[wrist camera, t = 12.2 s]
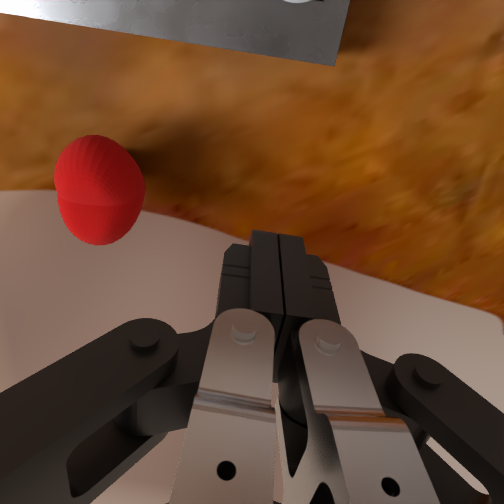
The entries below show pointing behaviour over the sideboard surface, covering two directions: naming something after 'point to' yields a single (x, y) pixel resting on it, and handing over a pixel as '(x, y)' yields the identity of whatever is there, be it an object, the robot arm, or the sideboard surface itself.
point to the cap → (297, 1)
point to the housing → (210, 22)
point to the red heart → (98, 189)
